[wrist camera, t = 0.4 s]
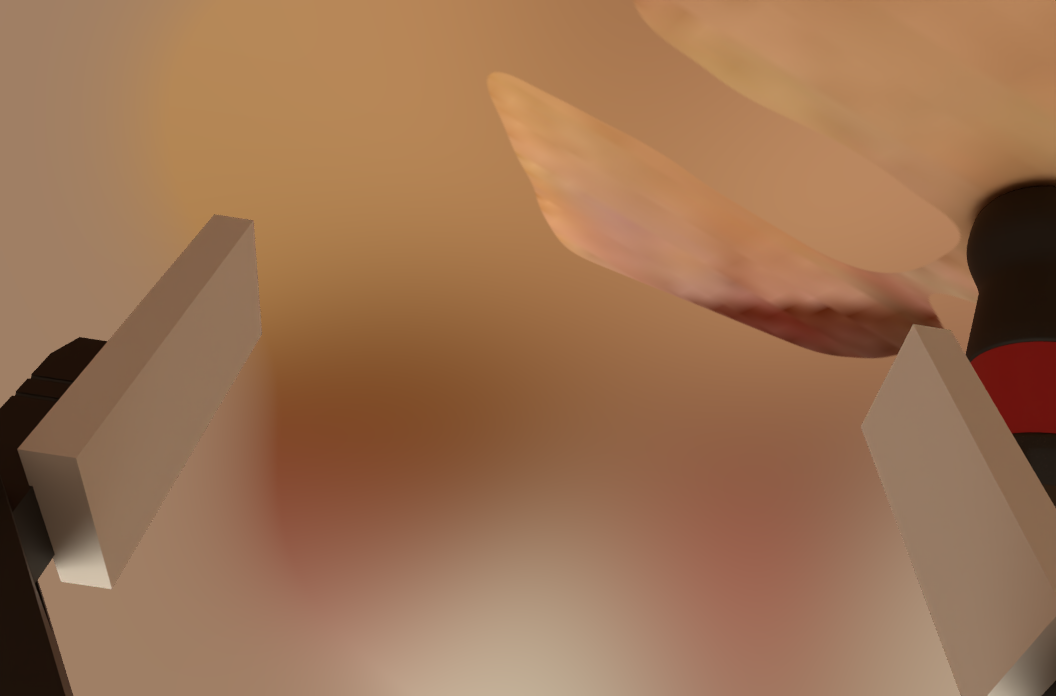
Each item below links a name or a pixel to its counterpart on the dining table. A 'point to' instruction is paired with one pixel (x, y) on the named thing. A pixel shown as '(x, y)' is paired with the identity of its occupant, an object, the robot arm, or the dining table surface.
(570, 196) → the dining table surface
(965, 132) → the dining table surface
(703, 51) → the dining table surface
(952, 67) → the dining table surface
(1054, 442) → the cola bottle
